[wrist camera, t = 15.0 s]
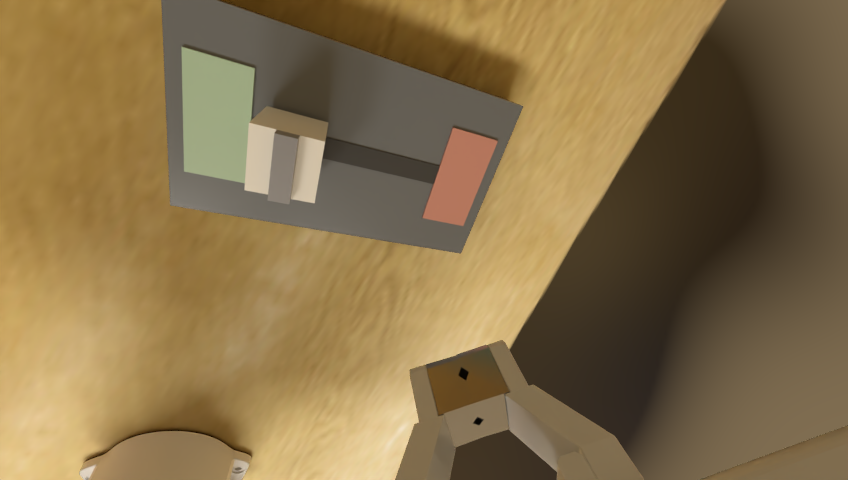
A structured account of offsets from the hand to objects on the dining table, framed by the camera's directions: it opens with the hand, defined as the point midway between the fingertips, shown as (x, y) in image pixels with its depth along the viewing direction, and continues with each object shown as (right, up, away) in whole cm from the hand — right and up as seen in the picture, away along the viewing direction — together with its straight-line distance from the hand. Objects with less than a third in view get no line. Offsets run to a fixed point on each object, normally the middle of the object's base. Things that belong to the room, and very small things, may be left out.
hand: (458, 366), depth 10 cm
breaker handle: (-10, +11, +13) cm, 20 cm away
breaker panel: (-7, +12, +18) cm, 23 cm away
